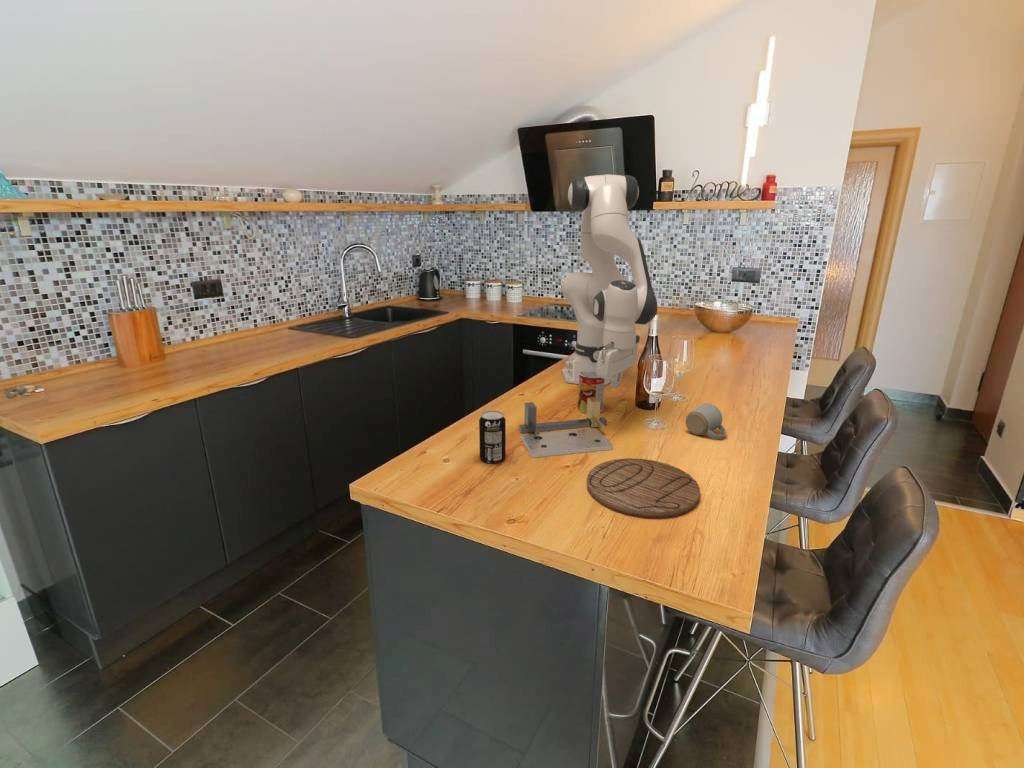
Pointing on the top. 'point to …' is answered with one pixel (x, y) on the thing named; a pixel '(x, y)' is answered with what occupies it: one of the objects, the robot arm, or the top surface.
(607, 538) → the top surface
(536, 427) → the rail
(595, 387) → the canned food
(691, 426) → the ceramic mug
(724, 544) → the top surface
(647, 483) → the trivet
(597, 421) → the sliding leg
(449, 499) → the top surface
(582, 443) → the bolt plate
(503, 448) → the beverage can
